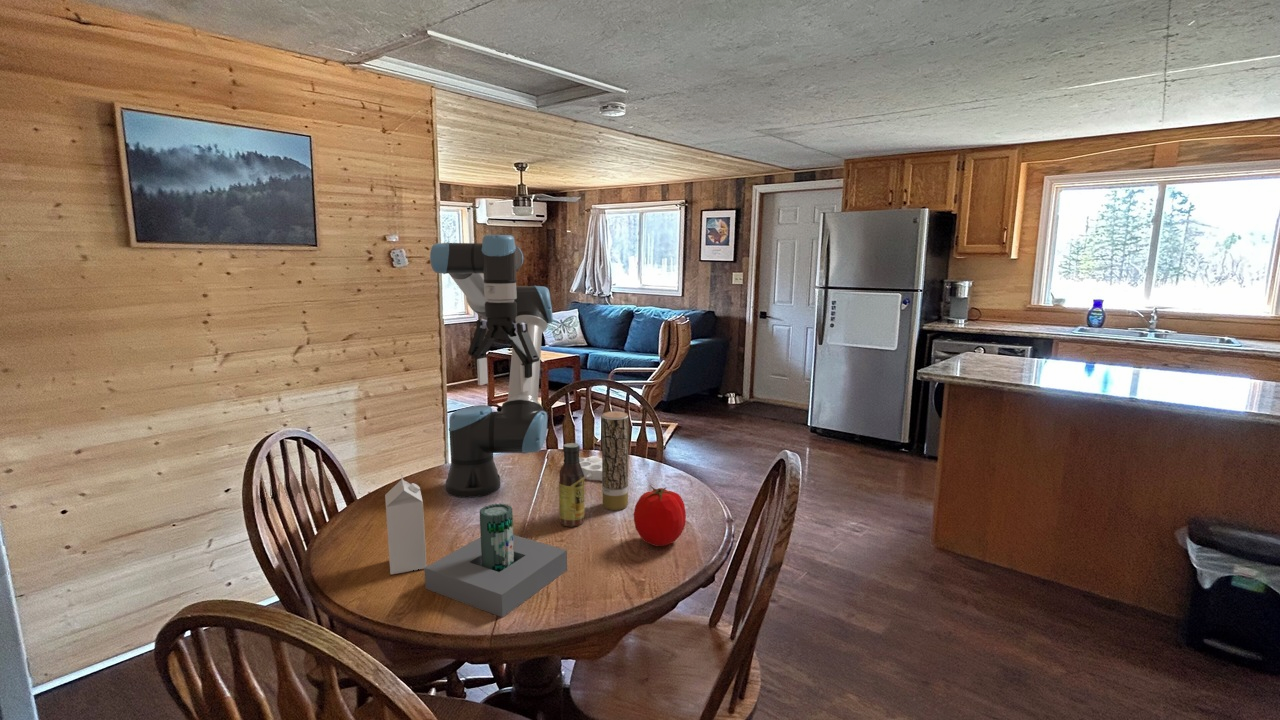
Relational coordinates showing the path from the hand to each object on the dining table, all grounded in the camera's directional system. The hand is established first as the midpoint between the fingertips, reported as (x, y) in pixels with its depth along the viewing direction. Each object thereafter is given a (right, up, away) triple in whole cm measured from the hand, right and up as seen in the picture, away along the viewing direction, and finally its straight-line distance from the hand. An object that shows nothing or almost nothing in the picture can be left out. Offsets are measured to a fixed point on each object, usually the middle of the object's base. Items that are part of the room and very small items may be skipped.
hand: (503, 387), depth 150 cm
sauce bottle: (+17, -34, +2) cm, 38 cm away
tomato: (+38, -36, -8) cm, 53 cm away
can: (+4, -38, -25) cm, 46 cm away
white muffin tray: (+20, -28, +38) cm, 52 cm away
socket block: (+4, -38, -25) cm, 46 cm away
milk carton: (-16, -37, -19) cm, 45 cm away
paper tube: (+27, -32, +12) cm, 44 cm away
